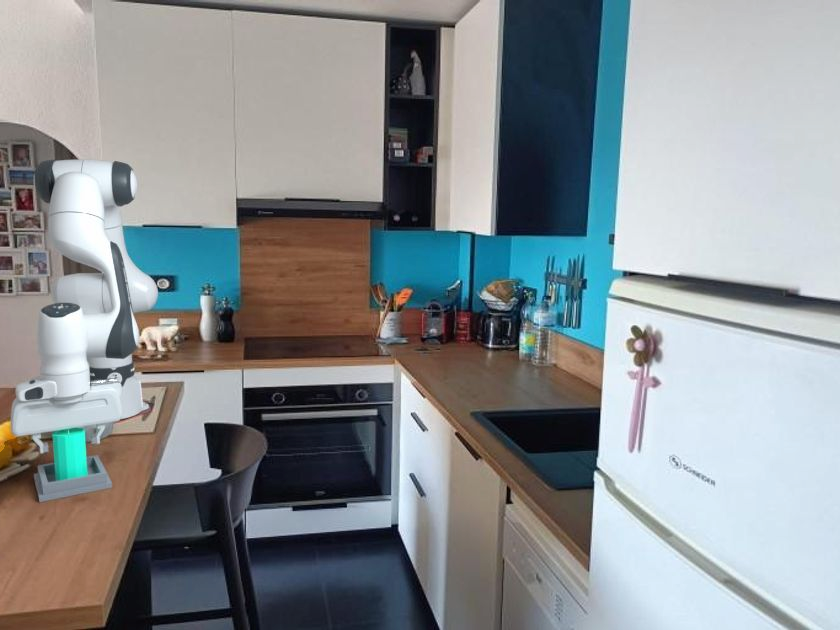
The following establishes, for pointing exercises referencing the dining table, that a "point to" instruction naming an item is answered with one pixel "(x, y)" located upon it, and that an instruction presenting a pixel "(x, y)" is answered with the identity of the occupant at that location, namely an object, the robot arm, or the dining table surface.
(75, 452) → the candle
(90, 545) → the dining table surface
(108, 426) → the dish
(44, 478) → the holder
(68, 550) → the dining table surface
